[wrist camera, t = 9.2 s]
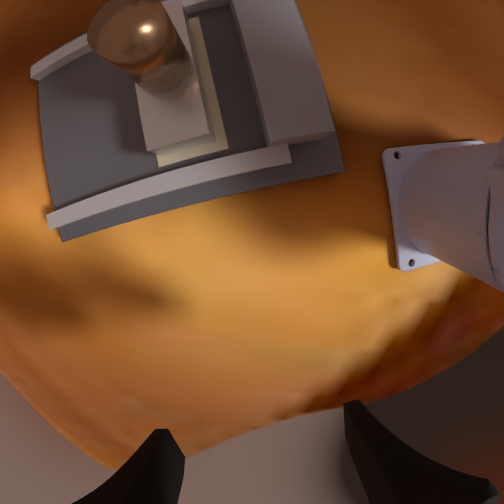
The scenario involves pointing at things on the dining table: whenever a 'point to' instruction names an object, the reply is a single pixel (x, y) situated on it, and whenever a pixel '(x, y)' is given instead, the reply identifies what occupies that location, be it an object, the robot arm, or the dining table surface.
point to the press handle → (157, 69)
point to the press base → (221, 110)
